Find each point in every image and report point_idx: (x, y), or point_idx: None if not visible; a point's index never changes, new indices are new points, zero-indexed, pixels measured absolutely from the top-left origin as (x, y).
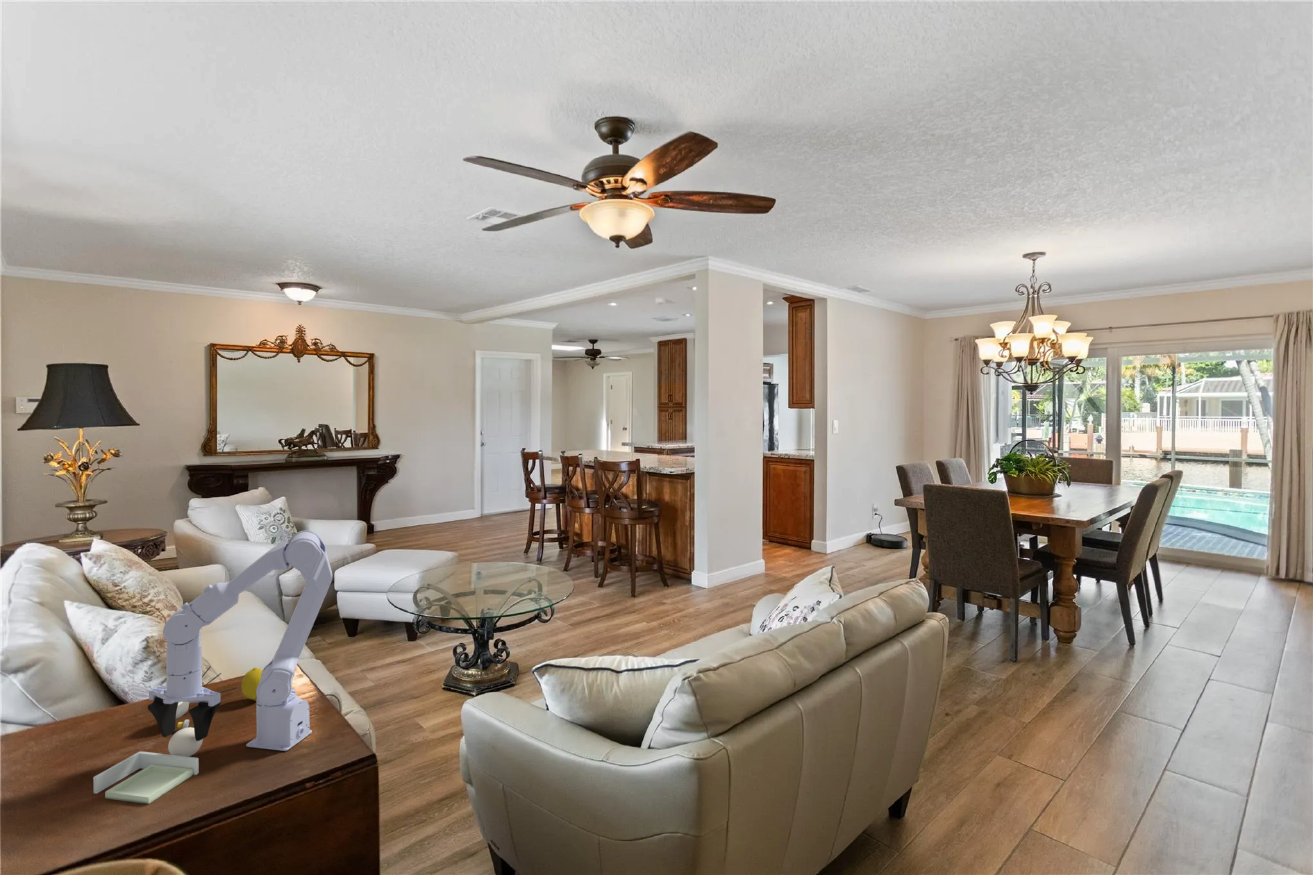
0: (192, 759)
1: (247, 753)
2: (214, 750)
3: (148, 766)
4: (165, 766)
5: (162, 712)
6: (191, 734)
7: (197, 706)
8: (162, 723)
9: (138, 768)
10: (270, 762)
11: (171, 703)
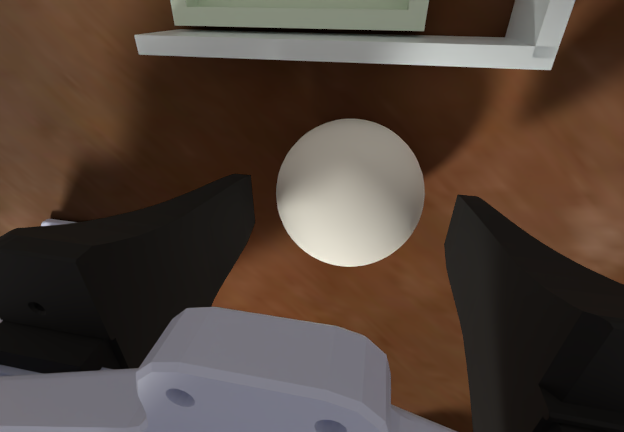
0: (154, 35)
1: (148, 201)
2: (277, 211)
3: (427, 6)
4: (329, 24)
5: (516, 305)
6: (291, 206)
7: (85, 324)
8: (489, 237)
9: (508, 28)
10: (25, 156)
11: (181, 316)
